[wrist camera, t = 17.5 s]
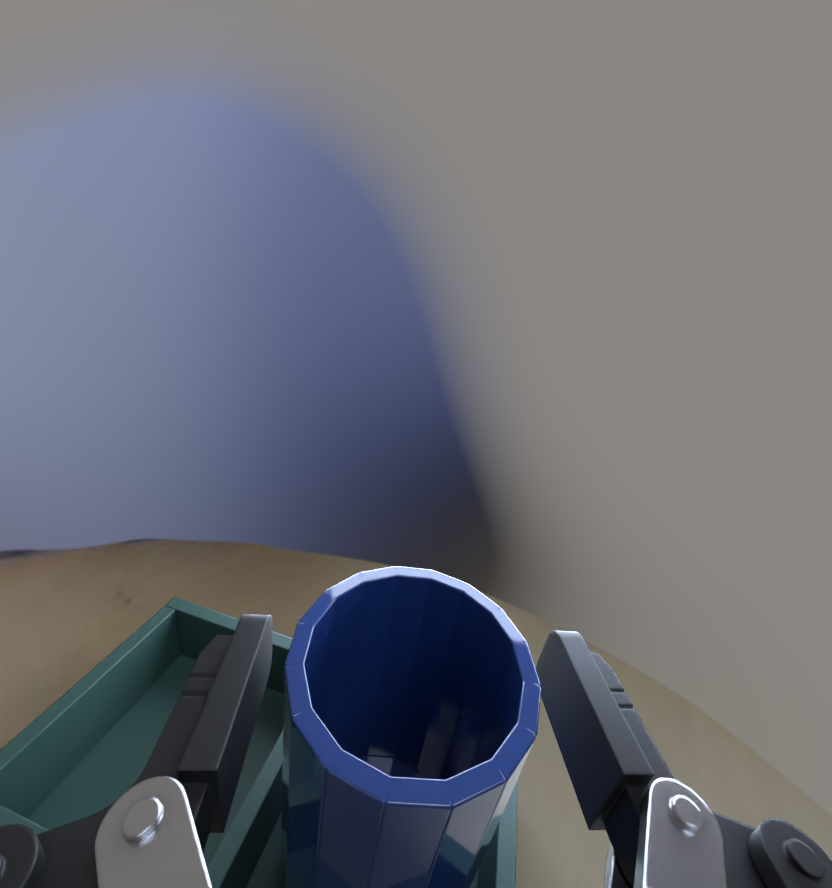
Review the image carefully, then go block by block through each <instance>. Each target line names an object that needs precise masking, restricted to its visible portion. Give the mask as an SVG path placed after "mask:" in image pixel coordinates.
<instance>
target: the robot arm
mask: <svg viewBox="0 0 832 888" xmlns="http://www.w3.org/2000/svg"><path fill="white" fill-rule="evenodd" d="M271 662H272V616H271V615H255V614H243V615H242V616H241V618H240V620H239V622H238V625H237V627H236V629H235V632H234V634H233V636H231V635H217V636H216V637H215V638H214V639H213V640H212V641H211V642H210V643H209V644H208V645H207V646H206V647H205V648H204V649H203V650H202V651H201V652H200V654H199V656H198V658H197V660H196V663H195V665H194V667H193V669H192V671H191V673H190V677H189V678H188V679H187V681H186V683H185V685H184V687H183V689H182V693H181V695H180V696H179V698H178V700H177V702H176V704H175V706H174V708H173V710H172V712H171V714H170V716H169V718H168V720H167V722H166V724H165V727H164V729H163V731H162V733H161V735H160V737H159V739H158V741H157V743H156V745H155V747H154V749H153V751H152V753H151V755H150V757H149V760H148V762H147V764H146V766H145V767H144V769H143V771H142V773H141V774H140V776H139V777H138V778H137V780H136V781H135V782H134V783H133V785H132V786H131V787H130V788H129V789H128V790H127V791H126V792H125V793H124V794H123V795H122V796H121V797H119V798H118V799H117V800H116V801H115V802H113V803H112V804H110V805H109V806H107V807H106V808H104V809H102V810H100V811H99V812H97V813H95V814H92V815H90V816H88V817H85V818H82V819H79V820H76V821H74V822H71V823H68V824H65V825H62V826H59V827H57V828H54V829H51V830H48V831H45V832H42V833H40V834H37V835H36V833H35V832H34V830H33V829H32V828H30V827H29V826H26V825H23V824H10V825H5V826H1V827H0V888H212V885H211V882H210V878H209V874H208V871H207V867H206V864H205V860H204V856H203V852H204V849H205V846H206V843H207V839H208V836H209V833H224V829H225V826H226V822H227V819H228V815H229V812H230V808H231V805H232V802H233V798H234V795H235V791H236V788H237V784H238V781H239V777H240V774H241V770H242V767H243V764H244V760H245V757H246V753H247V750H248V746H249V743H250V739H251V736H252V732H253V729H254V725H255V722H256V719H257V715H258V712H259V708H260V705H261V701H262V698H263V694H264V691H265V687H266V684H267V681H268V677H269V673H270V668H271ZM536 671H537V674H538V678H539V681H540V684H541V697H542V700H543V703H544V706H545V709H546V711H547V714H548V717H549V720H550V722H551V725H552V728H553V731H554V734H555V736H556V739H557V742H558V745H559V748H560V750H561V753H562V756H563V759H564V762H565V764H566V767H567V770H568V773H569V775H570V778H571V781H572V784H573V787H574V789H575V792H576V795H577V798H578V801H579V803H580V806H581V809H582V812H583V815H584V817H585V820H586V823H587V826H588V829H589V830H606V831H607V834H608V836H609V839H610V841H611V844H610V846H609V849H608V854H607V861H606V868H605V875H604V883H603V888H832V861H831V860H830V859H829V857H828V856H827V855H826V854H825V853H824V851H823V850H822V849H821V848H820V847H819V846H818V845H817V844H816V843H815V842H814V841H813V840H812V839H811V838H810V837H808V836H807V835H806V834H805V833H803V832H802V831H801V830H799V829H798V828H796V827H795V826H793V825H792V824H790V823H788V822H786V821H783V820H780V819H776V818H768V819H766V820H764V821H763V822H762V823H761V824H760V825H759V826H758V827H757V828H754V827H751V826H749V825H746V824H743V823H741V822H738V821H736V820H733V819H730V818H728V817H725V816H723V815H720V814H717V813H715V812H713V811H711V810H710V809H709V807H708V806H707V805H706V803H705V802H704V801H703V800H702V799H701V798H700V797H699V796H698V795H697V794H696V793H695V792H694V791H693V790H692V789H690V788H689V787H688V786H686V785H685V784H683V783H681V782H679V781H677V780H676V779H675V778H674V777H673V775H672V773H671V772H670V770H669V769H668V767H667V765H666V763H665V761H664V760H663V758H662V756H661V754H660V752H659V751H658V749H657V747H656V745H655V744H654V742H653V740H652V738H651V736H650V735H649V733H648V731H647V729H646V727H645V726H644V724H643V722H642V720H641V719H640V717H639V715H638V713H637V711H636V710H635V709H633V704H632V703H631V701H630V699H629V697H628V695H627V694H626V693H625V692H624V688H623V686H622V685H621V683H620V681H619V679H618V678H617V676H616V674H615V672H614V670H613V669H612V668H611V667H610V666H609V665H608V664H607V663H606V662H605V661H604V659H603V658H602V657H601V656H600V655H599V654H598V653H593V652H590V650H589V649H588V647H587V645H586V643H585V641H584V639H583V637H582V636H581V635H580V634H579V633H578V632H571V631H551V632H550V633H549V635H548V637H547V640H546V643H545V645H544V648H543V650H542V653H541V655H540V658H539V660H538V663H537V667H536Z"/></svg>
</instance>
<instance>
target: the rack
mask: <svg viewBox="0 0 832 888" xmlns="http://www.w3.org/2000/svg"><path fill="white" fill-rule="evenodd" d="M238 622H239V619H236V618H233V617H230V616H228V615H225V614H222V613H219V612H216V611H213V610H211V609H208V608H205V607H202V606H199V605H196V604H194V603H191V602H188V601H185V600H182V599H180V598H177V597H174V598H173V599H172V600H171V601H170V602H169V603H168V604H166V606H165V607H163V608H162V609H161V610H160V611H159V612H157V613H156V614H155V615H154V616H153V617H152V618H151V619H149V620H148V621H147V622H146V623H145V624H144V625H143V626H141V627H140V628H139V629H138V630H137V631H136V632H135V633H133V634H132V635H131V636H130V637H129V638H128V639H127V640H125V641H124V642H123V643H122V644H121V645H120V646H119V647H117V648H116V649H115V650H114V651H113V652H112V653H111V654H110V655H108V656H107V657H106V658H105V659H104V660H103V661H102V662H100V663H99V664H98V665H97V666H96V667H95V668H94V669H92V670H91V671H90V672H89V673H88V674H87V675H86V676H84V677H83V678H82V679H81V680H80V681H79V682H78V683H76V684H75V685H74V686H73V687H72V688H71V689H70V690H68V691H67V692H66V693H65V694H64V695H63V696H62V697H61V698H59V699H58V700H57V701H56V702H55V703H54V704H53V705H51V706H50V707H49V708H48V709H47V710H46V711H45V712H43V713H42V714H41V715H40V716H39V717H38V718H37V719H35V720H34V721H33V722H32V723H31V724H30V725H29V726H27V727H26V728H25V729H24V730H23V731H22V732H21V733H19V734H18V735H17V736H16V737H15V738H14V739H13V740H12V741H10V742H9V743H8V744H7V745H6V746H5V747H4V748H2V749H1V750H0V827H1V826H5V825H10V824H23V825H26V826H29V827H30V828H32V829H33V830H34V832H35V833H36V835H37V834H40V833H42V832H45V831H48V830H51V829H54V828H57V827H59V826H62V825H65V824H68V823H71V822H74V821H76V820H79V819H82V818H85V817H88V816H90V815H92V814H95V813H97V812H99V811H100V810H102V809H104V808H106V807H107V806H109V805H110V804H112V803H113V802H115V801H116V800H117V799H118V798H119V797H121V796H122V795H123V794H124V793H125V792H126V791H127V790H128V789H129V788H130V787H131V786H132V785H133V783H134V782H135V781H136V780H137V778H138V777H139V776H140V774H141V773H142V771H143V769H144V767H145V766H146V764H147V762H148V760H149V757H150V755H151V753H152V751H153V749H154V747H155V745H156V743H157V741H158V739H159V737H160V735H161V733H162V731H163V729H164V727H165V724H166V722H167V720H168V718H169V716H170V714H171V712H172V710H173V708H174V706H175V704H176V702H177V700H178V698H179V696H180V695H181V693H182V689H183V687H184V685H185V683H186V681H187V679H188V678H189V677H190V673H191V671H192V669H193V667H194V665H195V663H196V660H197V658H198V656H199V654H200V652H201V651H202V650H203V649H204V648H205V647H206V646H207V645H208V644H209V643H210V642H211V641H212V640H213V639H214V638H215V637H216V636H217V635H231V636H233V634H234V632H235V629H236V627H237V625H238ZM291 642H292V638H290V637H287V636H284V635H281V634H278V633H276V632H273V631H272V662H271V668H270V673H269V677H268V681H267V684H266V687H265V691H264V694H263V698H262V701H261V705H260V708H259V712H258V715H257V719H256V722H255V725H254V729H253V732H252V736H251V739H250V743H249V746H248V750H247V753H246V757H245V760H244V764H243V767H242V770H241V774H240V777H239V781H238V784H237V788H236V791H235V795H234V798H233V802H232V805H231V808H230V812H229V815H228V819H227V822H226V826H225V829H224V833H209V836H208V839H207V843H206V846H205V849H204V852H203V856H204V860H205V864H206V867H207V871H208V874H209V878H210V882H211V885H212V888H282V872H281V823H282V765H283V707H284V667H285V661H286V658H287V655H288V652H289V648H290V645H291ZM516 834H517V782H516V784H515V787H514V789H513V791H512V793H511V796H510V798H509V800H508V802H507V805H506V807H505V809H504V811H503V814H502V816H501V818H500V821H499V823H498V825H497V827H496V830H495V832H494V834H493V836H492V839H491V841H490V843H489V845H488V848H487V850H486V852H485V854H484V857H483V859H482V861H481V864H480V866H479V868H478V870H477V873H476V875H475V877H474V879H473V882H472V884H471V886H470V888H516Z"/></svg>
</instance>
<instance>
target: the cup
mask: <svg viewBox="0 0 832 888" xmlns="http://www.w3.org/2000/svg"><path fill="white" fill-rule="evenodd" d="M540 698H541V684H540V681H539V678H538V674H537V671H536V668H535V665H534V662H533V659H532V656H531V653H530V650H529V646H528V644H527V643H526V640H525V639H524V637H523V636H522V635H521V633H520V632H519V631H518V629H517V628H516V627H515V625H514V624H513V623H512V621H511V620H510V619H509V618H508V616H507V615H506V614H505V612H504V611H503V610H502V609H501V608H500V607H499V606H498V605H497V604H495V603H494V602H493V601H491V600H490V599H489V598H487V597H486V596H484V595H483V594H482V593H480V592H479V591H478V590H476V589H475V588H474V587H472V586H471V585H468V584H467V583H465V582H463V581H460V580H457V579H455V578H452V577H450V576H447V575H445V574H442V573H439V572H437V571H434V570H433V571H432V570H429V569H419V568H409V567H400V566H396V567H395V566H393V567H387V568H382V569H376V570H371V571H365V572H360V573H359V574H358V573H357V574H355V575H353V576H351V577H350V578H348V579H346V580H344V581H342V582H340V583H339V584H337V585H335V586H333V587H331V588H329V589H328V590H326V591H325V592H323V594H322V595H321V596H320V597H319V598H318V599H317V600H316V602H315V603H314V604H313V605H312V606H311V607H310V609H309V610H308V611H307V612H306V613H305V614H304V616H303V617H302V618H301V619H300V620H299V622H298V624H297V626H296V629H295V632H294V636H293V639H292V642H291V645H290V648H289V652H288V655H287V658H286V661H285V667H284V707H283V765H282V823H281V872H282V888H470V886H471V884H472V882H473V879H474V877H475V875H476V873H477V870H478V868H479V866H480V864H481V861H482V859H483V857H484V854H485V852H486V850H487V848H488V845H489V843H490V841H491V839H492V836H493V834H494V832H495V830H496V827H497V825H498V823H499V821H500V818H501V816H502V814H503V811H504V809H505V807H506V805H507V802H508V800H509V798H510V796H511V793H512V791H513V789H514V787H515V784H516V782H517V780H518V778H519V775H520V773H521V771H522V768H523V766H524V764H525V762H526V759H527V757H528V755H529V753H530V750H531V748H532V746H533V744H534V741H535V739H536V736H537V730H538V719H539V708H540Z"/></svg>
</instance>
